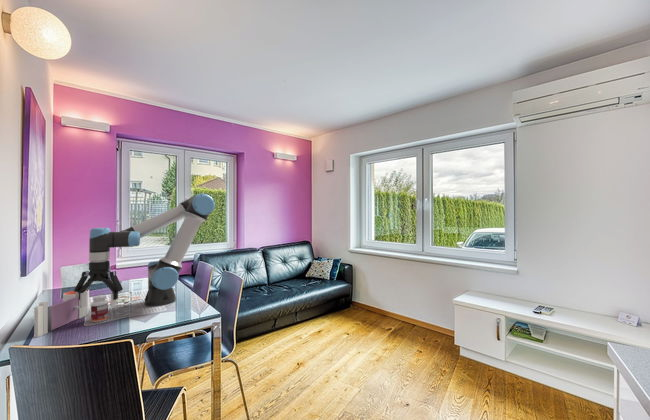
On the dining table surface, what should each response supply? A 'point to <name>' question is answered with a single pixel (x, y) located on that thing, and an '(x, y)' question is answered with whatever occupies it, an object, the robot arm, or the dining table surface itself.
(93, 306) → the pill bottle
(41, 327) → the wall
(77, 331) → the dining table surface
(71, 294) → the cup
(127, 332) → the dining table surface
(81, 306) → the robot arm
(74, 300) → the door
